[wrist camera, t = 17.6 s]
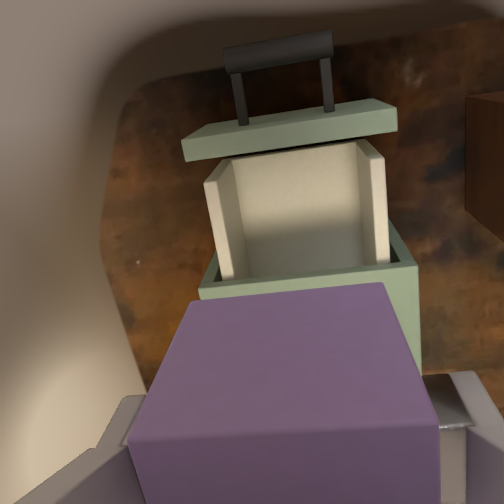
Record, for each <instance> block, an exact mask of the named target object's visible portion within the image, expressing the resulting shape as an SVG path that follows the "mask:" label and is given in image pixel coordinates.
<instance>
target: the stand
mask: <svg viewBox="0 0 504 504" xmlns="http://www.w3.org/2000/svg"><path fill="white" fill-rule="evenodd" d="M465 210H466V211H467V212H468V213H469V214H471V215H472V216H473V217H474V218H475V219H477V220H478V221H479V222H480V223H481V224H483V225H484V226H485V227H486V228H487V229H489V230H490V231H491V232H492V233H493V234H495V235H496V236H497V237H498V238H499V239H501V240H502V241H503V242H504V90H503V91H496V92H490V93H483V94H476V95H470V96H466V183H465Z"/></svg>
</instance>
